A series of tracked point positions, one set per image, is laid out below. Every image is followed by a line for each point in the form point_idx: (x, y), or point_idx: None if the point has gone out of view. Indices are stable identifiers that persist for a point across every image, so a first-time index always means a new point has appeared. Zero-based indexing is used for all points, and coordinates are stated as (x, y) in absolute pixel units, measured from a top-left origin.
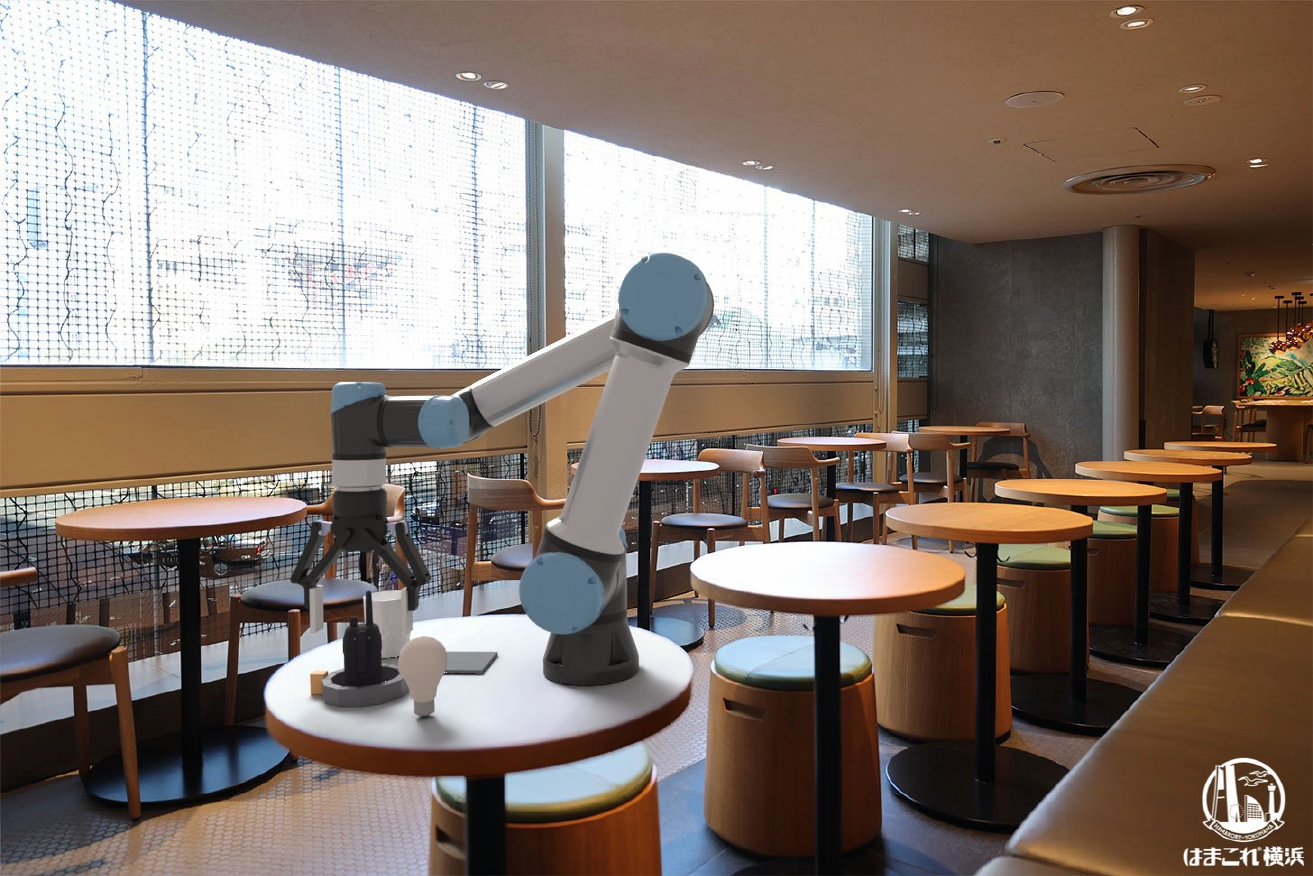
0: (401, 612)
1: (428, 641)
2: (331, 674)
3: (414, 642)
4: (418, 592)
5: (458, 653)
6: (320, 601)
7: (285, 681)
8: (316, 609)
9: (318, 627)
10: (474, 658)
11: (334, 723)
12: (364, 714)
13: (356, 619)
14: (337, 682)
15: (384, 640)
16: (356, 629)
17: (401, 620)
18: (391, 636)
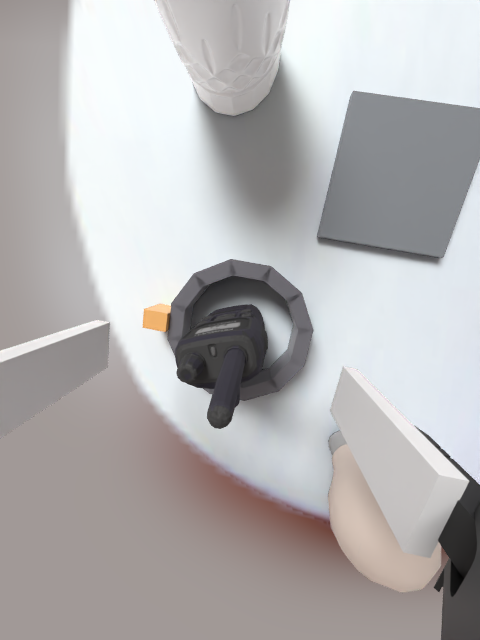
0: (355, 459)
1: (419, 589)
2: (176, 316)
3: (385, 586)
4: (477, 485)
5: (400, 115)
6: (37, 371)
7: (93, 245)
8: (57, 390)
9: (101, 354)
10: (435, 165)
11: (226, 435)
12: (257, 413)
13: (197, 374)
14: (189, 309)
15: (228, 86)
16: (208, 385)
17: (344, 437)
18: (244, 76)
